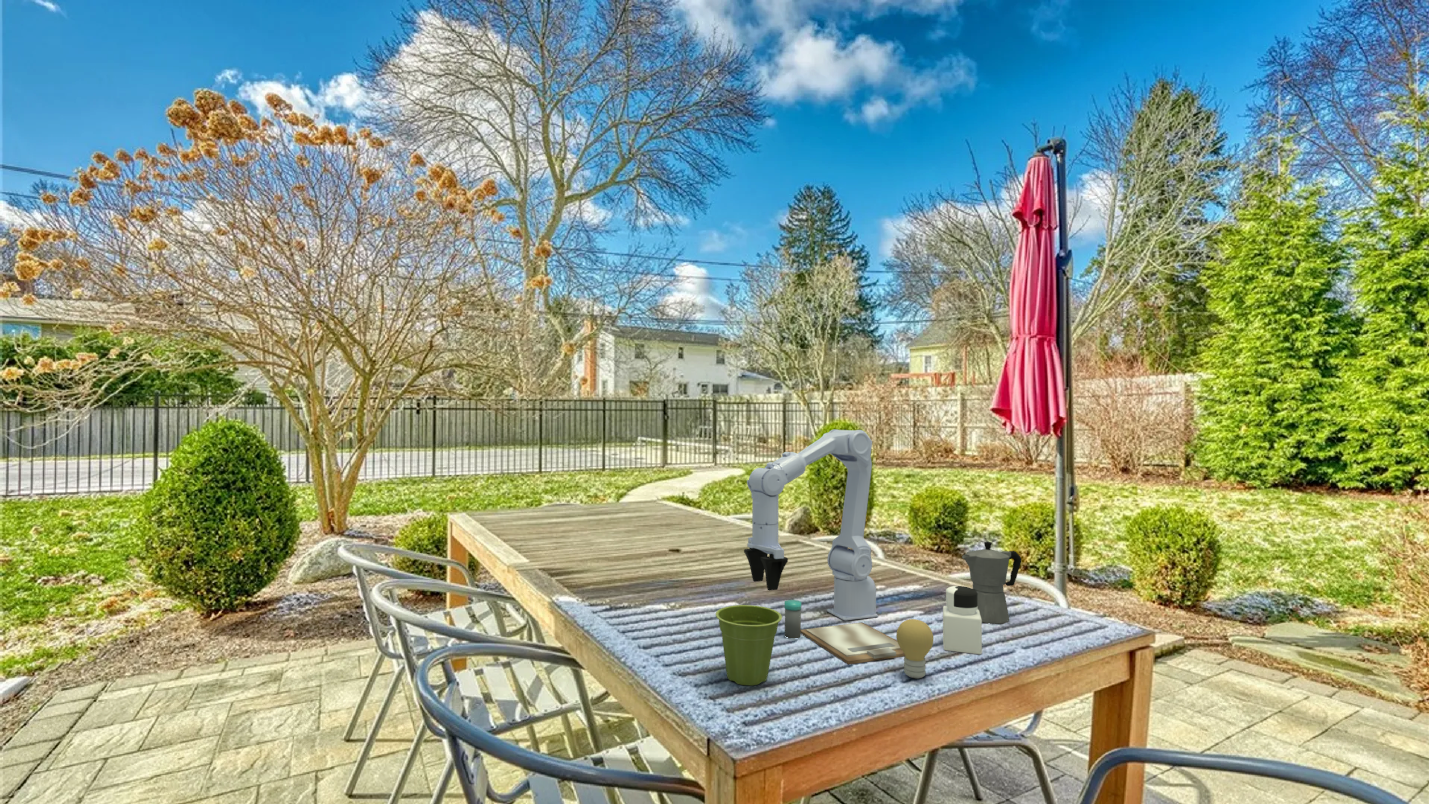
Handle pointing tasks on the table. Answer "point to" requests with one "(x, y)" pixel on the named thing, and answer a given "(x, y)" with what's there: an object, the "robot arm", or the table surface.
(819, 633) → the clipboard
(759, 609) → the plant pot
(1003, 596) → the coffeepot
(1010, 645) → the table surface
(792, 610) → the teal topped grey cylinder
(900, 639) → the light bulb
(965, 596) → the medicine bottle
